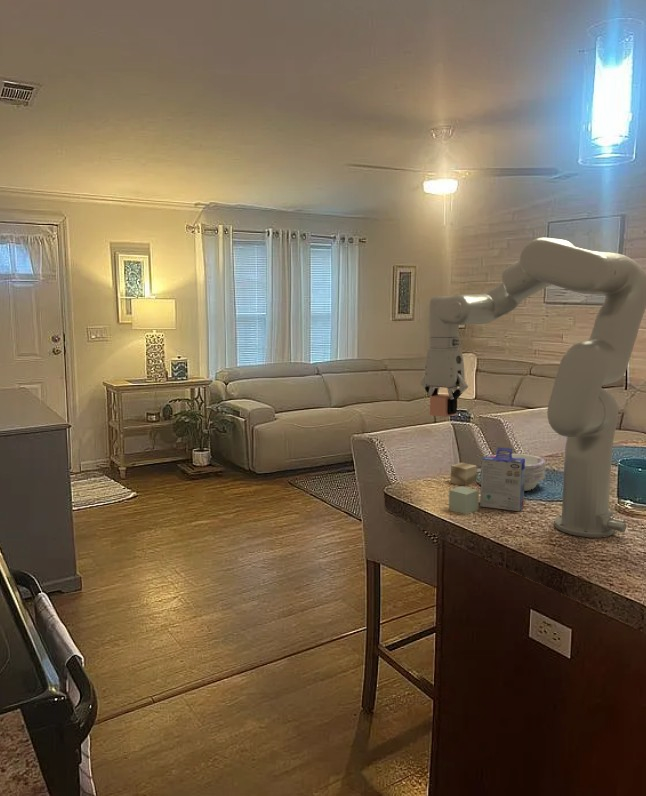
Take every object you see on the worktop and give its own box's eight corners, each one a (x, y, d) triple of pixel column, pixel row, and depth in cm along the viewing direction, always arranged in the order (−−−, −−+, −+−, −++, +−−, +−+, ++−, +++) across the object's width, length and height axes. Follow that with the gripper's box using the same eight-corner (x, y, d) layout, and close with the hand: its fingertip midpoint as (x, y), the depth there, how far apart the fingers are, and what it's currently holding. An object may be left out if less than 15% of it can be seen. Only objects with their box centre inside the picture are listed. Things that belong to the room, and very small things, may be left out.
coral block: (456, 414, 167) (457, 396, 167) (445, 417, 164) (445, 398, 163) (441, 412, 171) (441, 394, 170) (429, 414, 168) (430, 396, 167)
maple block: (476, 483, 177) (476, 465, 176) (465, 486, 174) (465, 469, 173) (461, 479, 181) (462, 462, 180) (450, 482, 178) (451, 465, 177)
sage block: (478, 510, 154) (478, 490, 154) (465, 514, 151) (466, 494, 150) (461, 505, 158) (461, 486, 157) (448, 509, 155) (449, 490, 154)
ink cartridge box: (524, 505, 157) (526, 448, 155) (521, 512, 152) (523, 453, 150) (484, 500, 161) (485, 445, 159) (479, 507, 156) (481, 450, 154)
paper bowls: (492, 476, 183) (493, 450, 182) (547, 482, 176) (548, 455, 175) (481, 491, 169) (482, 462, 168) (540, 498, 163) (542, 468, 162)
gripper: (479, 344, 161) (478, 414, 163) (427, 342, 174) (427, 407, 176) (461, 345, 156) (461, 418, 159) (409, 343, 169) (409, 411, 171)
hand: (443, 412), depth 167 cm, fingers closed on coral block, 4 cm apart
